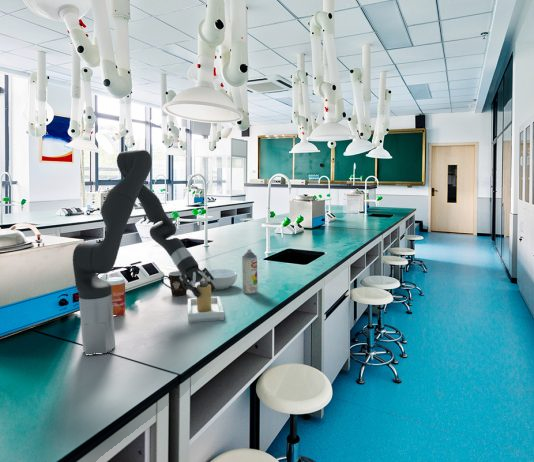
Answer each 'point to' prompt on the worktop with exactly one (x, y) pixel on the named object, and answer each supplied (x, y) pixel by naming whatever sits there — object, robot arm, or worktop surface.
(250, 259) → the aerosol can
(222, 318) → the lab tray
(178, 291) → the coffee mug
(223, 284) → the cereal bowl
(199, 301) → the amber bottle
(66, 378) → the worktop surface
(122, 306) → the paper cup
